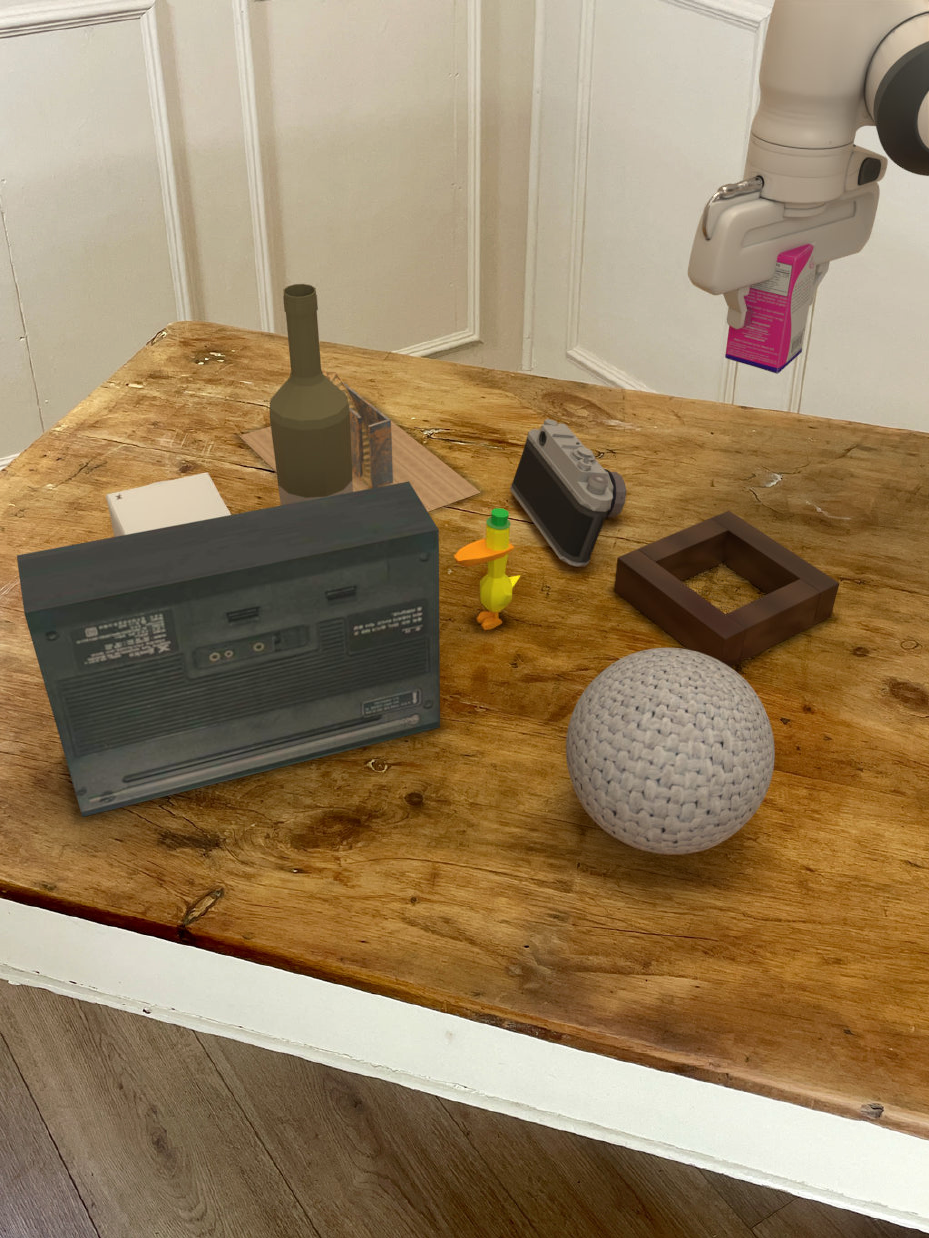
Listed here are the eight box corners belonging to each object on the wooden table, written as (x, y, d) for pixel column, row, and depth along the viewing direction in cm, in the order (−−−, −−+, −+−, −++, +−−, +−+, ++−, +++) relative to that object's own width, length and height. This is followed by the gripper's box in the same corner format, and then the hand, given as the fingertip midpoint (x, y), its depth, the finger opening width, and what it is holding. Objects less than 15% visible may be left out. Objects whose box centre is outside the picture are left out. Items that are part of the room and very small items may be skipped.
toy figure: (464, 644, 108) (466, 535, 101) (446, 622, 110) (446, 514, 103) (528, 622, 111) (534, 514, 103) (509, 601, 113) (513, 494, 106)
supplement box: (747, 337, 119) (766, 224, 112) (802, 353, 117) (825, 238, 109) (721, 358, 116) (739, 242, 108) (777, 375, 113) (800, 258, 106)
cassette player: (413, 675, 105) (408, 481, 92) (439, 727, 100) (438, 529, 87) (72, 755, 97) (16, 555, 84) (82, 816, 92) (24, 613, 79)
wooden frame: (723, 543, 121) (728, 510, 118) (831, 617, 112) (840, 582, 109) (613, 591, 114) (617, 557, 112) (718, 673, 105) (725, 638, 103)
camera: (637, 573, 119) (673, 486, 114) (563, 570, 116) (596, 480, 110) (573, 492, 131) (603, 410, 125) (504, 487, 127) (531, 402, 122)
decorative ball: (535, 863, 88) (545, 716, 79) (589, 731, 99) (604, 588, 90) (737, 922, 84) (773, 774, 75) (770, 778, 95) (806, 633, 86)
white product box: (155, 690, 103) (126, 548, 94) (131, 630, 109) (101, 492, 100) (256, 661, 106) (238, 521, 97) (227, 604, 112) (207, 468, 103)
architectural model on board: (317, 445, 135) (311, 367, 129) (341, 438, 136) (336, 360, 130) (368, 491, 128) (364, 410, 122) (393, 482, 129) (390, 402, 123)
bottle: (370, 600, 113) (355, 300, 94) (299, 617, 111) (268, 314, 92) (347, 559, 118) (328, 267, 99) (278, 575, 116) (245, 280, 97)
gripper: (734, 200, 98) (711, 354, 107) (901, 157, 107) (867, 303, 116) (683, 178, 102) (664, 329, 111) (848, 138, 111) (819, 280, 120)
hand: (769, 315), depth 113 cm, fingers closed on supplement box, 7 cm apart
